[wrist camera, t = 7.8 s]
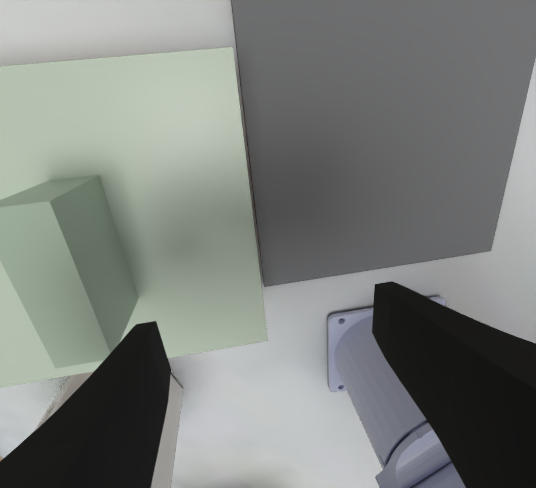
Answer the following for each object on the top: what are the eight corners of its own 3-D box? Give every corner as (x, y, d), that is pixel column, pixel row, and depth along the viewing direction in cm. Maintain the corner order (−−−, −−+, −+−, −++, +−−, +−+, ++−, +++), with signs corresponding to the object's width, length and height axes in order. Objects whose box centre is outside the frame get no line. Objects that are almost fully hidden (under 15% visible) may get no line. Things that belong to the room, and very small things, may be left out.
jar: (98, 326, 21) (-32, 559, 10) (200, 370, 24) (185, 589, 13) (42, 409, 23) (-115, 675, 12) (143, 440, 26) (87, 678, 15)
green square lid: (232, 49, 12) (238, 16, 8) (266, 333, 18) (281, 402, 13) (-172, 83, 11) (-429, 65, 6) (7, 378, 16) (-66, 470, 12)
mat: (550, -43, 16) (559, -47, 16) (485, 248, 23) (490, 251, 23) (228, -23, 14) (228, -27, 14) (263, 283, 21) (264, 286, 21)
